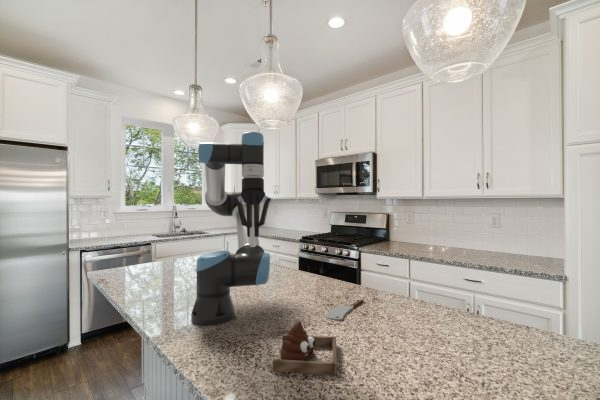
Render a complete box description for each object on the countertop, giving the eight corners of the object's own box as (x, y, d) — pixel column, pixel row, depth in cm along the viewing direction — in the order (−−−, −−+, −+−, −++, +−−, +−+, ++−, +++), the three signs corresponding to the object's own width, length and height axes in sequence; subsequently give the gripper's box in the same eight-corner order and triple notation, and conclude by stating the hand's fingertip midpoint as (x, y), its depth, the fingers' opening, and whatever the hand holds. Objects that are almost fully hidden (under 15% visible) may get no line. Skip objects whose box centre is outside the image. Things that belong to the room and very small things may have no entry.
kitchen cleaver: (347, 297, 126) (368, 300, 120) (347, 299, 126) (368, 302, 120) (315, 315, 107) (339, 320, 101) (316, 318, 107) (340, 323, 101)
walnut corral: (272, 371, 72) (272, 360, 72) (283, 342, 86) (283, 334, 86) (336, 375, 70) (336, 364, 70) (336, 345, 84) (336, 336, 84)
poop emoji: (294, 344, 85) (294, 312, 85) (320, 352, 80) (320, 318, 81) (273, 360, 77) (273, 324, 77) (301, 370, 72) (300, 332, 72)
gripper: (230, 177, 98) (231, 247, 98) (269, 176, 96) (269, 248, 96) (238, 179, 105) (238, 244, 105) (273, 178, 104) (274, 245, 103)
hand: (253, 246), depth 100 cm, fingers closed
